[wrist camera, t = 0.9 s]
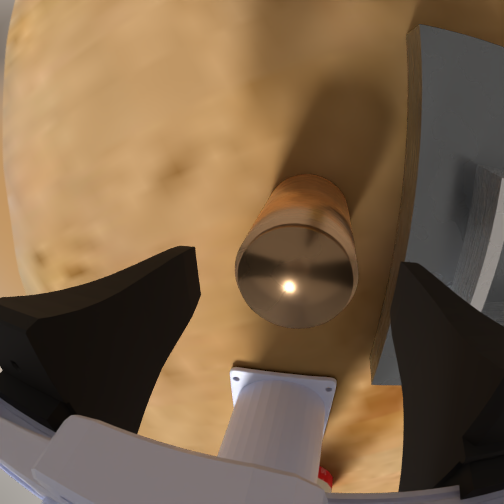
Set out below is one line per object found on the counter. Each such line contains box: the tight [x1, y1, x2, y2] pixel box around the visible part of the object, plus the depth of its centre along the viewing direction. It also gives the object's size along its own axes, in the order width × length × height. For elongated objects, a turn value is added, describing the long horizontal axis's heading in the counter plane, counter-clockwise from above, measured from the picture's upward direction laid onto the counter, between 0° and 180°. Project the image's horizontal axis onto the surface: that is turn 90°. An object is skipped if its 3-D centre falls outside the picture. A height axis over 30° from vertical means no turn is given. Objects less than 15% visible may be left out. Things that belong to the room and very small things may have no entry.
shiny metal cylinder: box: [235, 174, 359, 329], centre depth 14 cm, size 4×4×7 cm
